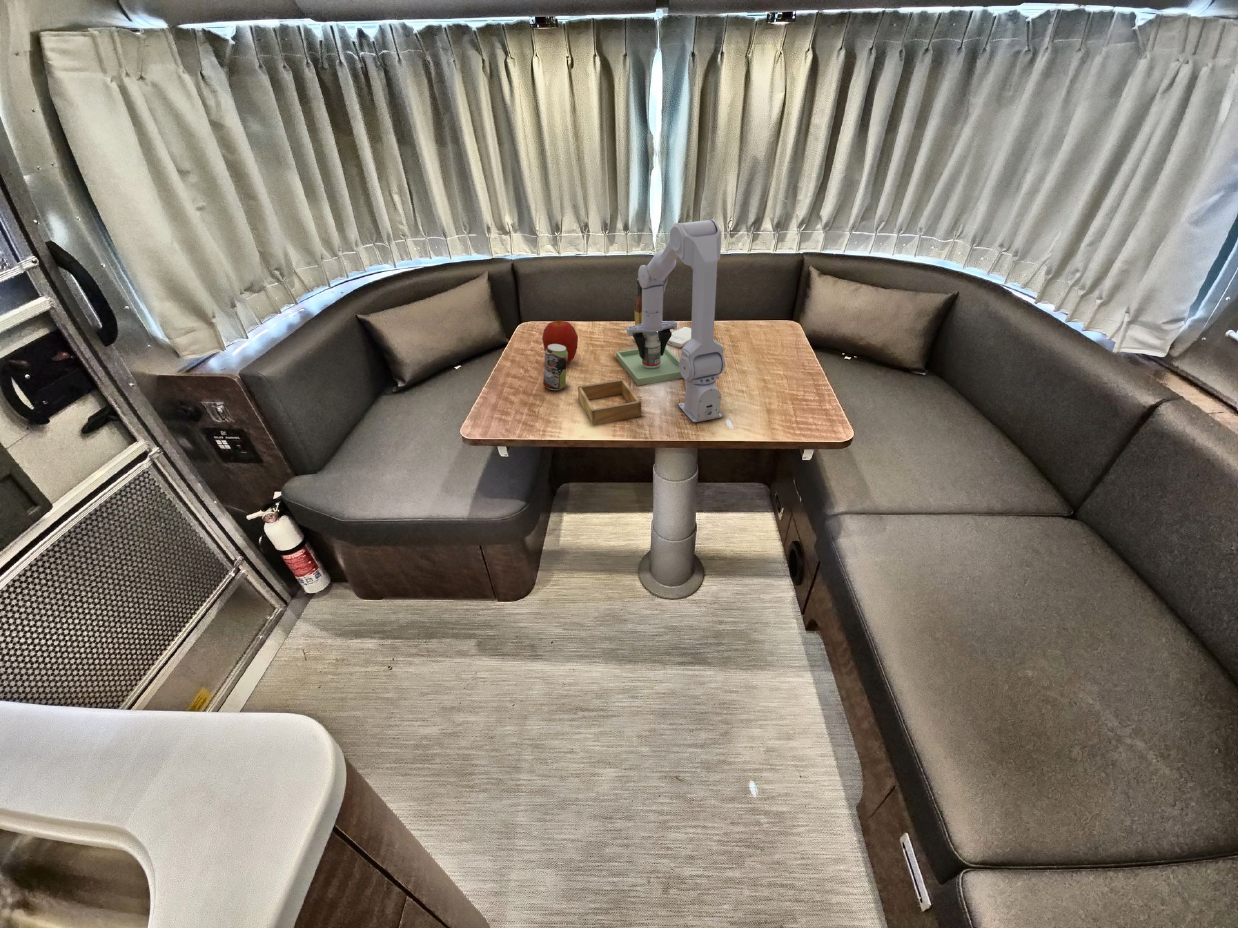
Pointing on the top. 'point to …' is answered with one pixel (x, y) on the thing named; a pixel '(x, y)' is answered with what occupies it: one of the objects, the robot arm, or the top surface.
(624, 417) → the open wooden box
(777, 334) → the top surface
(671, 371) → the tray
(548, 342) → the apple
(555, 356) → the beverage can
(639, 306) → the sauce bottle
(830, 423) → the top surface
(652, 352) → the pill bottle
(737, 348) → the top surface
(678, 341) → the hard drive
